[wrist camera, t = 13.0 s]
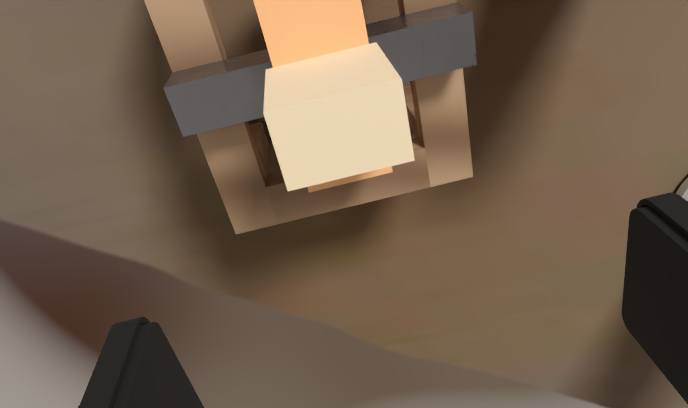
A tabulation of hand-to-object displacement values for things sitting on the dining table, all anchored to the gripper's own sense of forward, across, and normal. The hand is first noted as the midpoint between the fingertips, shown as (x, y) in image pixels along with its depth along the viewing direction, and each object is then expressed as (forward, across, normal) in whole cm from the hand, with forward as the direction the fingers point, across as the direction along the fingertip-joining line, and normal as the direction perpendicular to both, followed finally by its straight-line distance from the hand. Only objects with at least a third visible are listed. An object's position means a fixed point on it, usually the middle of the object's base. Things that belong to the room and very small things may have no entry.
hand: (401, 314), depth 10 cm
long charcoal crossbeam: (+18, 0, 0) cm, 18 cm away
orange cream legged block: (+26, 0, 0) cm, 26 cm away
